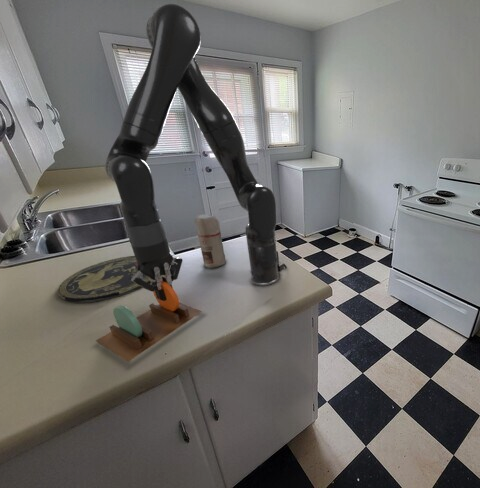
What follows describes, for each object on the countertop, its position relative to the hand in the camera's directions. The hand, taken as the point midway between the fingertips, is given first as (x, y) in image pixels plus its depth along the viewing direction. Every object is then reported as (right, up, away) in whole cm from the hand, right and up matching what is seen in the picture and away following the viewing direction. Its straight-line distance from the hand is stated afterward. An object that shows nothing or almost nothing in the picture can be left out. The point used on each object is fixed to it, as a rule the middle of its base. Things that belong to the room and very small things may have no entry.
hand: (166, 297), depth 73 cm
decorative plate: (-32, +2, +23) cm, 39 cm away
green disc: (-5, -9, -6) cm, 12 cm away
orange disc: (0, -4, +2) cm, 4 cm away
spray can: (0, +7, +33) cm, 33 cm away
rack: (-2, -8, -1) cm, 9 cm away
